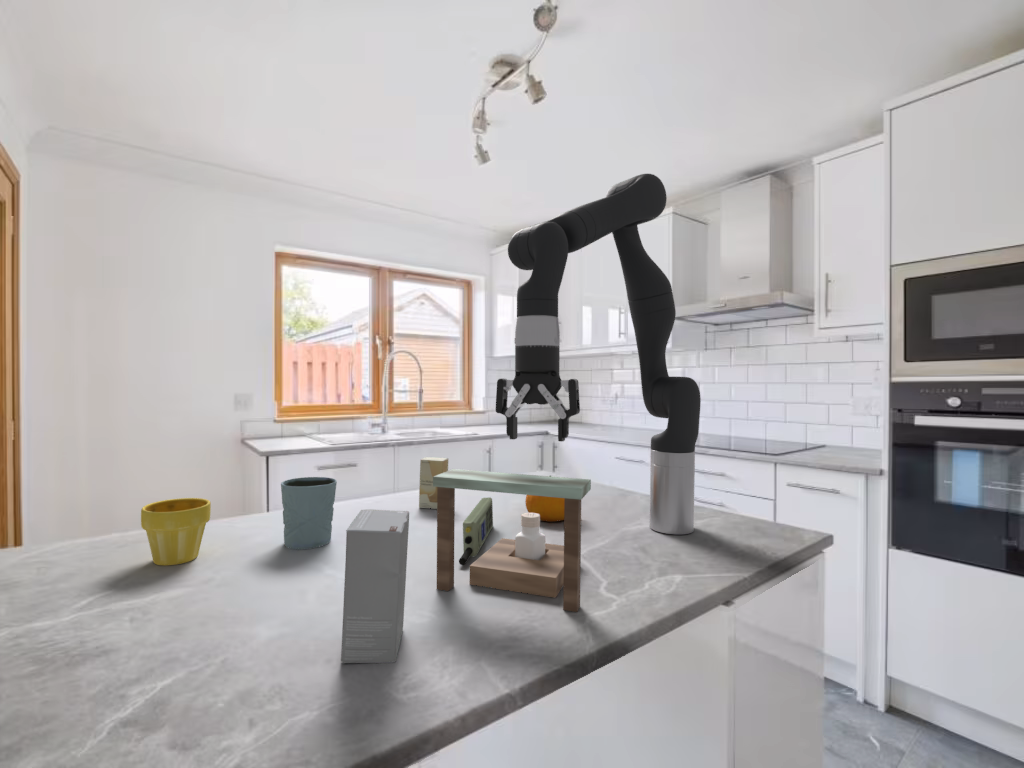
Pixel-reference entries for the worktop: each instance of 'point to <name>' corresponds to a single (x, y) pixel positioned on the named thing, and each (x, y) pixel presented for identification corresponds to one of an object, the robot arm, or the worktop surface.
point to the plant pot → (175, 528)
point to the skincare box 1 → (374, 586)
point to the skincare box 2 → (430, 480)
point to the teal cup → (308, 511)
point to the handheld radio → (476, 528)
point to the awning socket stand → (500, 559)
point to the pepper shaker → (530, 538)
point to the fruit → (546, 507)
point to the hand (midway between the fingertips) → (537, 439)
